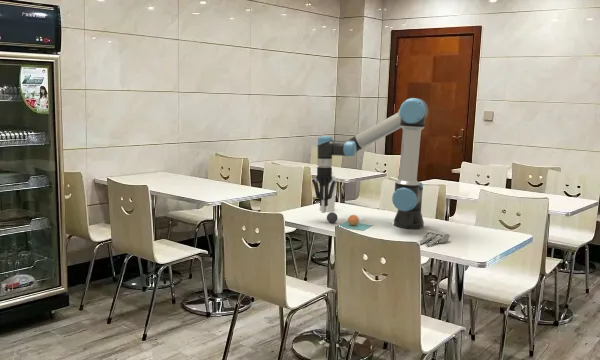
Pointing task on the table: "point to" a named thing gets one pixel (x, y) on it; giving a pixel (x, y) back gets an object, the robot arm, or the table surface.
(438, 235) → the grey glove
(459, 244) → the table surface
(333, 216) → the ball
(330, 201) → the milk
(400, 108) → the robot arm
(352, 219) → the ball
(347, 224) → the mark
